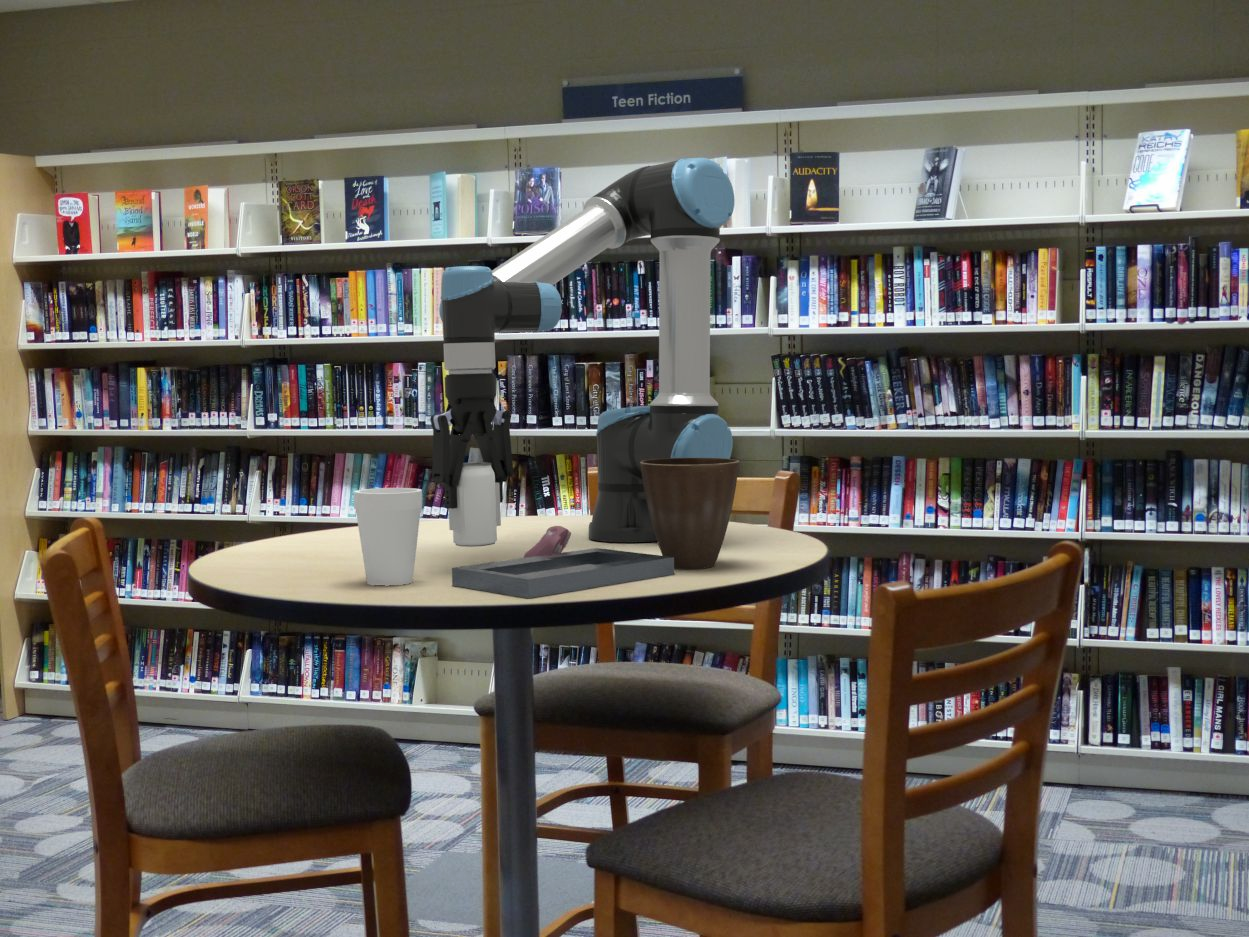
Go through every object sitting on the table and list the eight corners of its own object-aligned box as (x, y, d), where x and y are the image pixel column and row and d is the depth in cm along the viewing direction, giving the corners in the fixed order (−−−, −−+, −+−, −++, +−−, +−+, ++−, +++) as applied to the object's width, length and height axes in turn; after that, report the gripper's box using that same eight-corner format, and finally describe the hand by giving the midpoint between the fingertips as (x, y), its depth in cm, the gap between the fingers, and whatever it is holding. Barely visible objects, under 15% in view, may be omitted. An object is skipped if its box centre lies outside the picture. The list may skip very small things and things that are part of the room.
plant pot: (735, 573, 191) (734, 463, 190) (633, 572, 194) (632, 463, 193) (743, 559, 206) (743, 457, 205) (648, 558, 209) (648, 457, 207)
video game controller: (545, 577, 200) (564, 537, 199) (518, 563, 201) (538, 523, 200) (560, 568, 210) (579, 529, 209) (535, 555, 210) (554, 516, 209)
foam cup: (358, 589, 180) (356, 494, 180) (353, 579, 189) (350, 489, 188) (428, 585, 183) (426, 492, 182) (419, 576, 192) (417, 487, 191)
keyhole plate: (597, 564, 203) (596, 547, 202) (674, 574, 191) (674, 557, 191) (452, 585, 183) (451, 567, 183) (528, 598, 172) (528, 579, 171)
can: (502, 544, 195) (499, 464, 194) (459, 548, 193) (456, 466, 192) (490, 539, 201) (487, 461, 200) (448, 542, 199) (446, 463, 198)
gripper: (503, 371, 204) (508, 519, 206) (401, 374, 191) (407, 533, 193) (535, 370, 199) (540, 522, 201) (433, 373, 185) (439, 536, 187)
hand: (475, 527), depth 197 cm, fingers closed on can, 6 cm apart
